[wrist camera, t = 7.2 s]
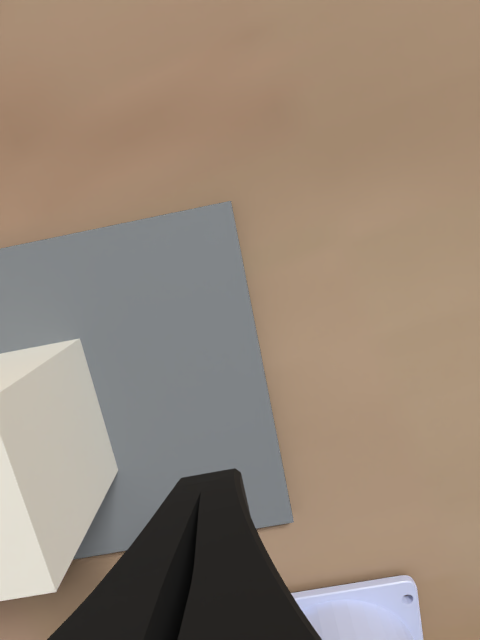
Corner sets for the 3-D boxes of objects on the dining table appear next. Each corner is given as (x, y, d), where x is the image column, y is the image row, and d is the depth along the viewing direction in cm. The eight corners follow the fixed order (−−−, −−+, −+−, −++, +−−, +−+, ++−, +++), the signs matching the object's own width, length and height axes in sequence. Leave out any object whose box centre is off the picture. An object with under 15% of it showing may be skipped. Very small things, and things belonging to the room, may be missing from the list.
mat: (292, 514, 18) (293, 522, 18) (-120, 584, 19) (-129, 593, 19) (231, 201, 15) (230, 200, 15) (-253, 301, 16) (-268, 304, 16)
